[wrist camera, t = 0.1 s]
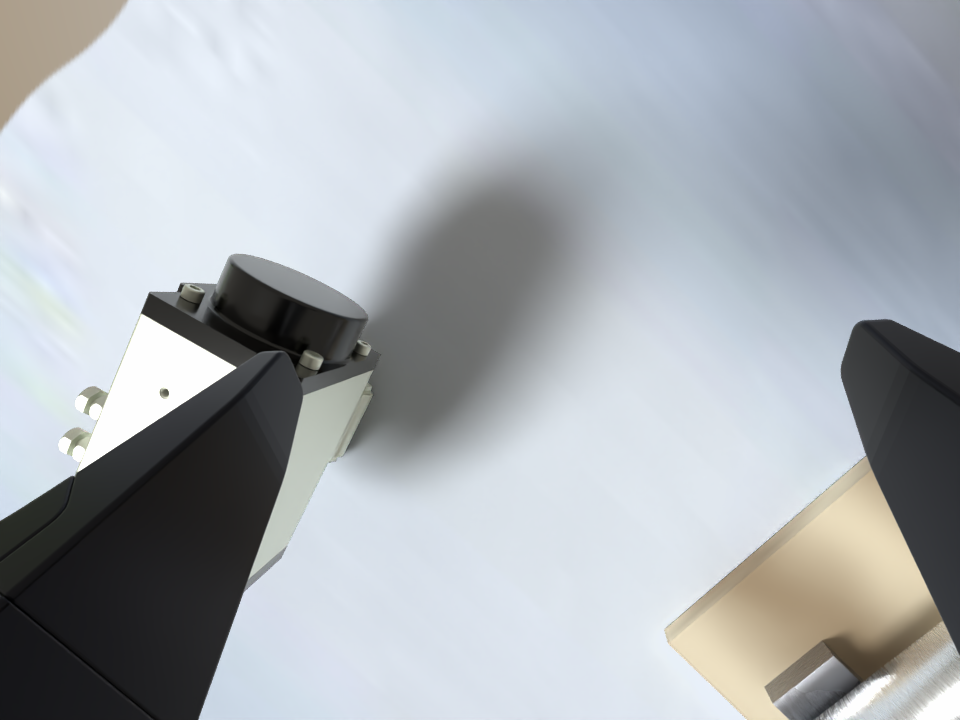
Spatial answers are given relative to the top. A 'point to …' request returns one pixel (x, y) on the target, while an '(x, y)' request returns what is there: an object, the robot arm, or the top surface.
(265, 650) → the top surface
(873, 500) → the mounting board
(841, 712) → the valve pipe
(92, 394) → the pneumatic valve
